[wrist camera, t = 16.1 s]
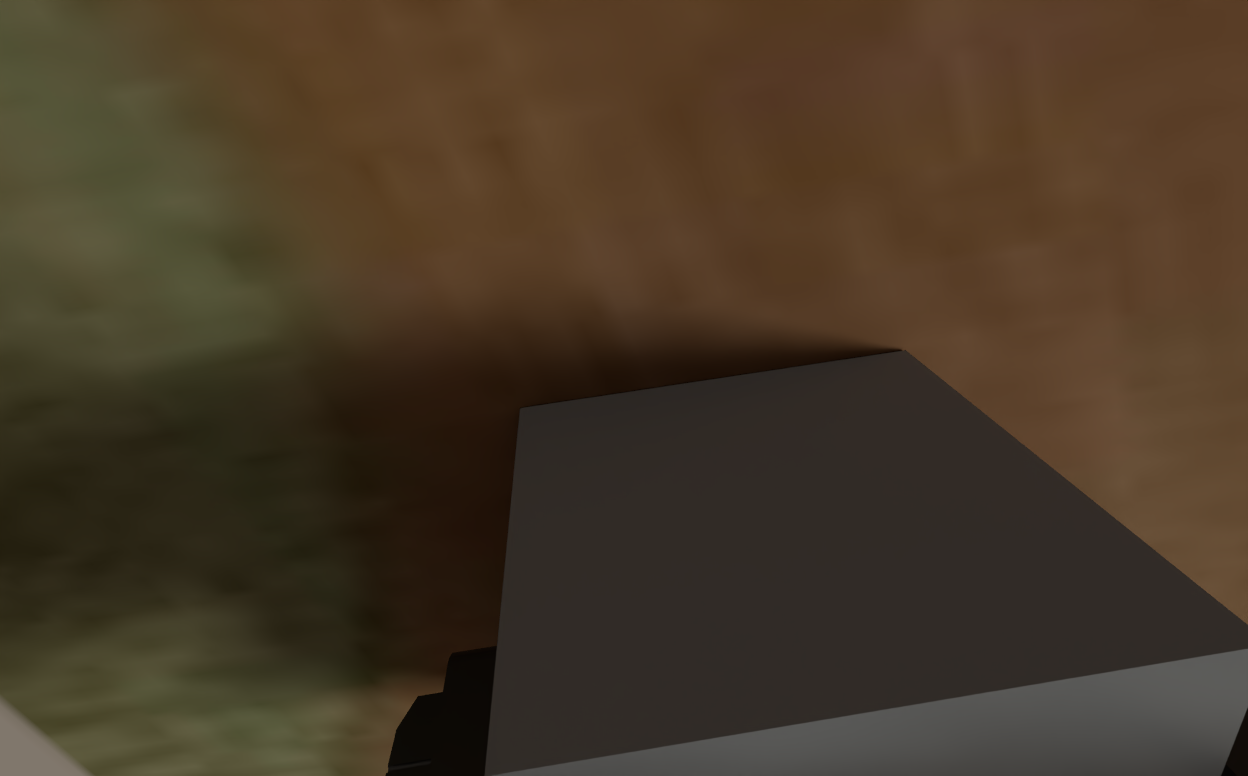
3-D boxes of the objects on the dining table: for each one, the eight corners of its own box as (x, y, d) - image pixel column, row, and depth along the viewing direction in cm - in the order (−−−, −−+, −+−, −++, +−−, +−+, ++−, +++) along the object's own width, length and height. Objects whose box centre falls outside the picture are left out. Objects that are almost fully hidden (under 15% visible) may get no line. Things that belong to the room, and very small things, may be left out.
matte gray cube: (578, 687, 14) (596, 1130, 8) (520, 408, 11) (484, 777, 6) (888, 636, 15) (1120, 1032, 9) (905, 350, 12) (1271, 644, 6)
